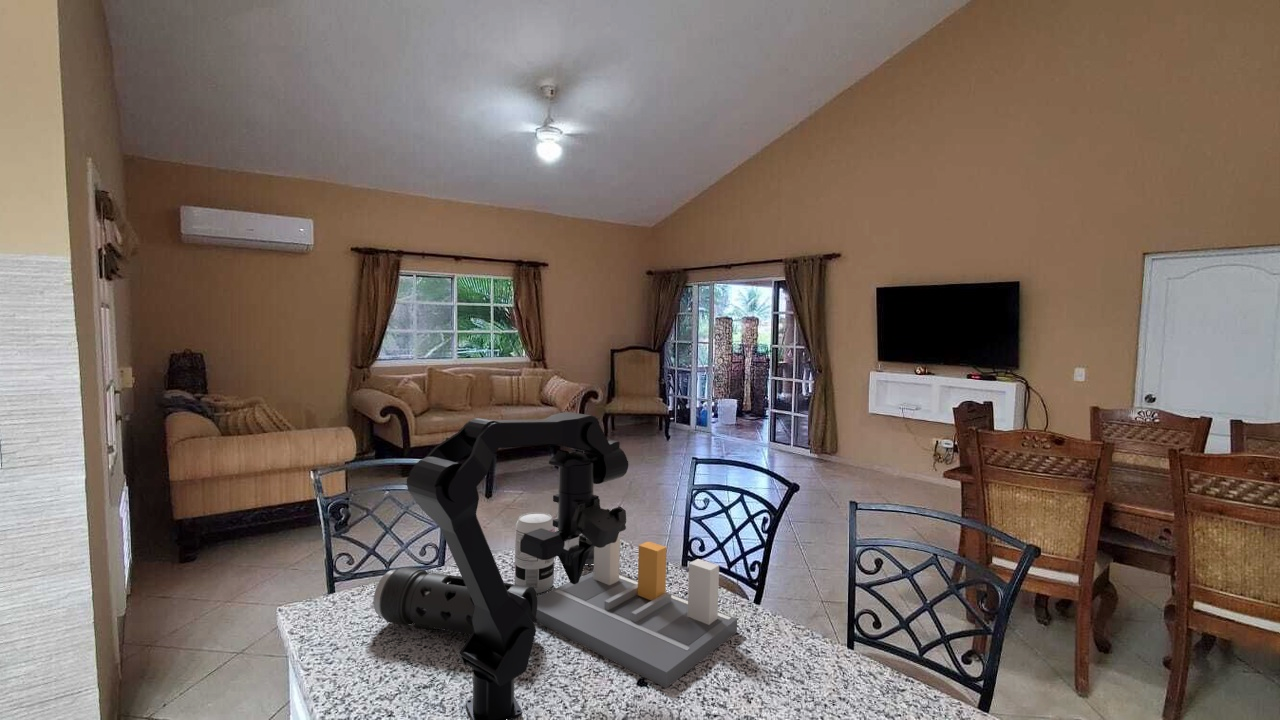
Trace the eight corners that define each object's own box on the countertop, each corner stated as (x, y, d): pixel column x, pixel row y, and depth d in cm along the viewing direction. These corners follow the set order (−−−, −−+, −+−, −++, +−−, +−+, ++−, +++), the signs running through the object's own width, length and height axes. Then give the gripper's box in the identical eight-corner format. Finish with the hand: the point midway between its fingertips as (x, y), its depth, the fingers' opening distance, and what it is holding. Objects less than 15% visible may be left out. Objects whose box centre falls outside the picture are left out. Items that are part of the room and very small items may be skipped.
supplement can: (510, 582, 121) (511, 514, 121) (547, 576, 125) (548, 510, 124) (519, 598, 114) (520, 525, 114) (558, 591, 118) (559, 521, 117)
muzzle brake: (513, 661, 92) (514, 599, 92) (369, 635, 99) (370, 577, 99) (537, 632, 101) (538, 576, 101) (404, 610, 108) (405, 557, 108)
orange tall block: (656, 602, 108) (657, 551, 107) (637, 595, 111) (638, 545, 110) (665, 597, 110) (666, 547, 110) (646, 590, 113) (648, 541, 113)
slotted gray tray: (666, 688, 86) (668, 608, 85) (523, 615, 107) (524, 551, 107) (736, 632, 103) (738, 565, 102) (601, 578, 124) (602, 523, 124)
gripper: (568, 513, 79) (567, 621, 80) (649, 487, 94) (647, 579, 94) (518, 497, 86) (517, 597, 87) (601, 476, 101) (599, 561, 101)
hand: (574, 583), depth 92 cm, fingers closed
